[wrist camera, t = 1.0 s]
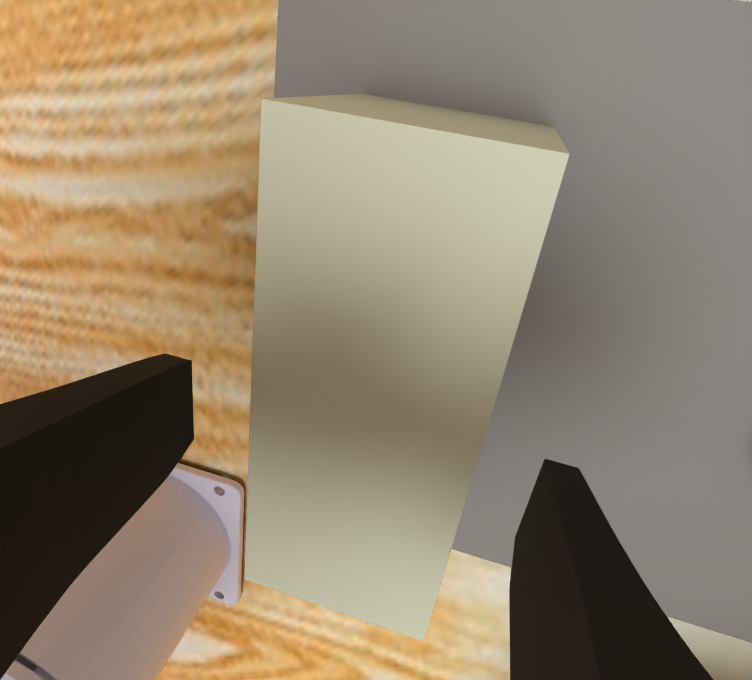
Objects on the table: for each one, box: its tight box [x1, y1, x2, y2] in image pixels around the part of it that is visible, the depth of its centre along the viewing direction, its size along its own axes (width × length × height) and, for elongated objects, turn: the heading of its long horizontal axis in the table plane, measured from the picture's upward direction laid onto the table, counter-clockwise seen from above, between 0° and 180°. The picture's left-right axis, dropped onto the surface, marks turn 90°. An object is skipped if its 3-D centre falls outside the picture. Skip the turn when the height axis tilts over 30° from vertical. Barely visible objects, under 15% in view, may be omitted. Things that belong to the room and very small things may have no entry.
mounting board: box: [274, 0, 752, 643], centre depth 16 cm, size 22×18×1 cm
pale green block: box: [245, 94, 569, 641], centre depth 14 cm, size 5×12×6 cm, turn 173°
